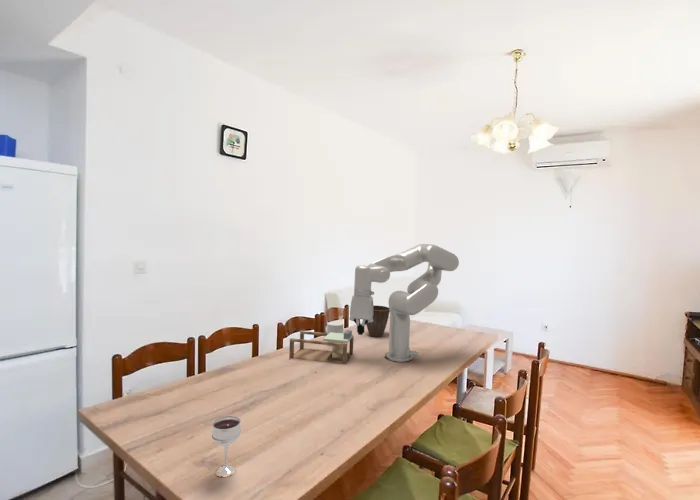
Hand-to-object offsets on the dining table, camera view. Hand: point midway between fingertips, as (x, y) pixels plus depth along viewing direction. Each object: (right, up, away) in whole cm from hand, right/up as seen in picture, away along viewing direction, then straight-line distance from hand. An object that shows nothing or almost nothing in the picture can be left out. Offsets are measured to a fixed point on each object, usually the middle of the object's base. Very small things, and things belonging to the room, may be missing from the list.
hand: (360, 334), depth 170 cm
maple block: (-10, -11, +3) cm, 15 cm away
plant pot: (+10, -12, +47) cm, 50 cm away
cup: (-12, -12, +23) cm, 29 cm away
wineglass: (-35, -16, -78) cm, 87 cm away
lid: (-10, -3, +3) cm, 11 cm away
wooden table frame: (-18, -12, +5) cm, 22 cm away
